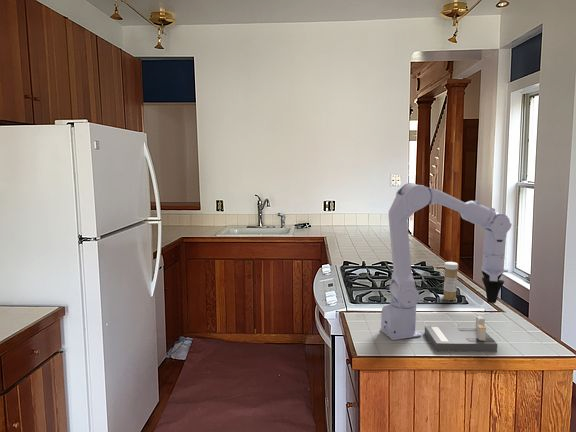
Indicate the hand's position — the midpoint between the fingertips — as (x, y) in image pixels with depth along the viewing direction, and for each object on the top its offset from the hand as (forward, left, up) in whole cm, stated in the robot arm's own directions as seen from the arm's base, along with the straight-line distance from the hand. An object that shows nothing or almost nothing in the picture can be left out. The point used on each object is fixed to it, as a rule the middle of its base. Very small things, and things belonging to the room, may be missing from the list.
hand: (491, 298), depth 130 cm
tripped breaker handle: (-10, -8, -8) cm, 15 cm away
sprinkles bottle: (+7, +28, -10) cm, 31 cm away
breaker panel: (-13, -4, -10) cm, 17 cm away
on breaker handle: (-5, -3, -8) cm, 10 cm away
